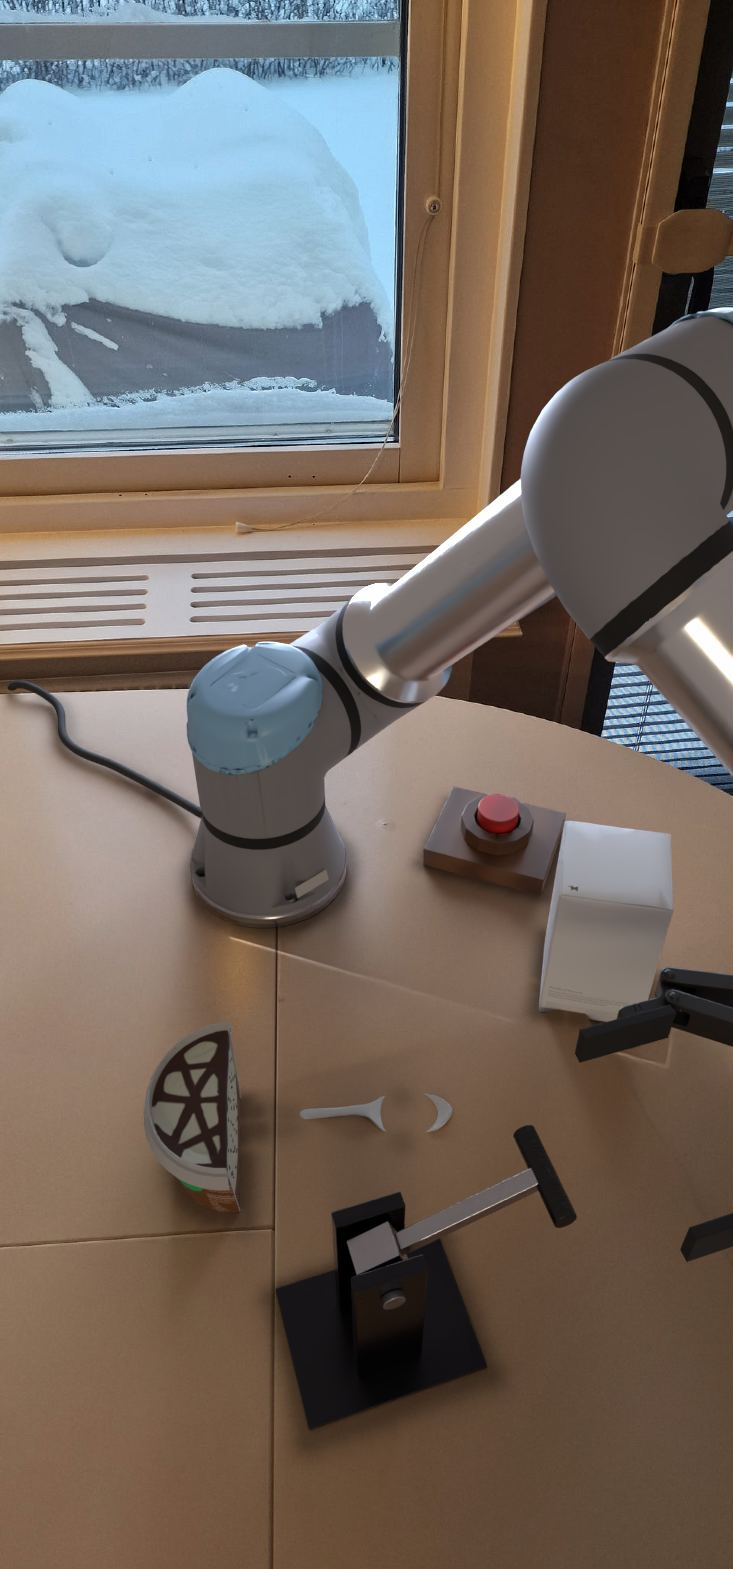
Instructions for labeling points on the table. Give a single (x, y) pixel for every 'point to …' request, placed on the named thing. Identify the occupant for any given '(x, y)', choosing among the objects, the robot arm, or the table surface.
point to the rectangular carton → (606, 919)
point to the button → (498, 814)
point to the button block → (495, 843)
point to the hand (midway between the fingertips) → (628, 1137)
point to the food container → (198, 1116)
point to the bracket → (376, 1324)
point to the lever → (469, 1209)
